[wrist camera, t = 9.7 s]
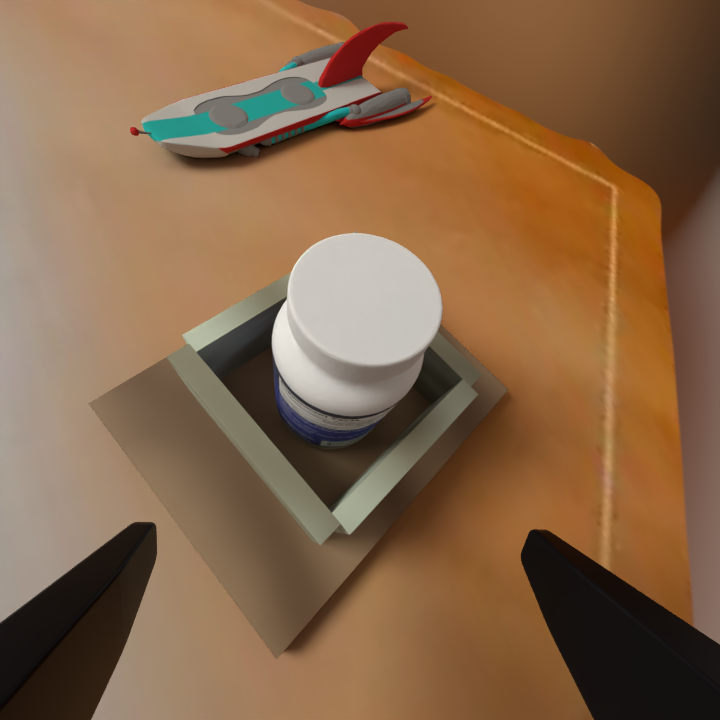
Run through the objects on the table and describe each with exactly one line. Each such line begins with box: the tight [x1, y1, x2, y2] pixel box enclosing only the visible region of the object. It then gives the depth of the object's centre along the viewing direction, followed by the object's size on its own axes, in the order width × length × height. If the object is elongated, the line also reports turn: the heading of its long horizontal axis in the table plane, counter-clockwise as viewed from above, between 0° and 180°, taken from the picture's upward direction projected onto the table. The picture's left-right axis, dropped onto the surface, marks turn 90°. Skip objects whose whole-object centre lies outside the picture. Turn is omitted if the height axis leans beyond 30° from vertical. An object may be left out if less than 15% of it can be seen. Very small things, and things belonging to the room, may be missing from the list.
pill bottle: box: [272, 233, 442, 449], centre depth 14 cm, size 6×6×10 cm
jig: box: [88, 273, 508, 659], centre depth 18 cm, size 18×14×5 cm
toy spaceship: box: [130, 22, 432, 158], centre depth 29 cm, size 27×11×5 cm, turn 140°
